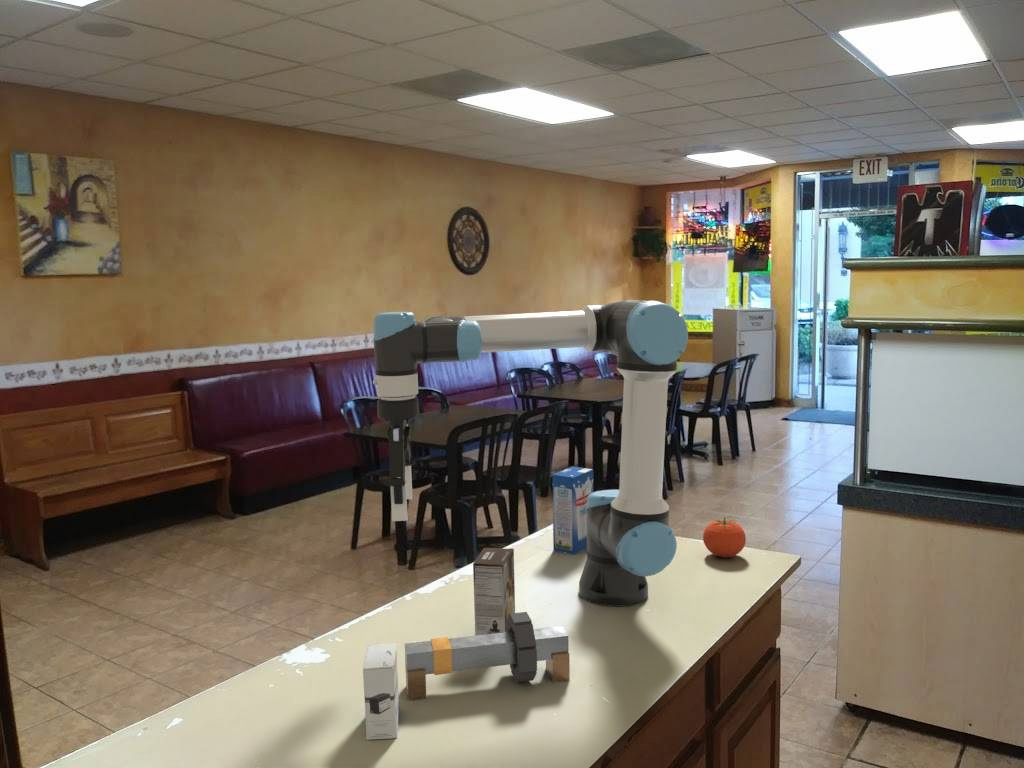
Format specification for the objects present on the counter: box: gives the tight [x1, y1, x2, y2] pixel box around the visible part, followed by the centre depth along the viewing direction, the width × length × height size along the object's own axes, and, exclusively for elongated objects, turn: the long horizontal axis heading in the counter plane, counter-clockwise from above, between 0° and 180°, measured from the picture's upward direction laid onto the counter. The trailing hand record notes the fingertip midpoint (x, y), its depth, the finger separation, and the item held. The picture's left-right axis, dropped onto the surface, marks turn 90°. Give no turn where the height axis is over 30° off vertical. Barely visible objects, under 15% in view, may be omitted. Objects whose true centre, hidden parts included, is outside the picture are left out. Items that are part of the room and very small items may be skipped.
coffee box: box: [472, 547, 516, 636], centre depth 158 cm, size 9×6×16 cm
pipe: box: [404, 625, 571, 701], centre depth 139 cm, size 28×5×8 cm, turn 102°
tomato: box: [702, 517, 747, 558], centre depth 198 cm, size 10×10×10 cm
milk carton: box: [552, 466, 594, 555], centre depth 206 cm, size 10×6×20 cm, turn 145°
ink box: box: [362, 642, 400, 741], centre depth 127 cm, size 8×5×12 cm, turn 5°
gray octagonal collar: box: [506, 611, 538, 683], centre depth 140 cm, size 3×11×11 cm, turn 12°
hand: (402, 509), depth 150 cm, fingers open, 13 cm apart
